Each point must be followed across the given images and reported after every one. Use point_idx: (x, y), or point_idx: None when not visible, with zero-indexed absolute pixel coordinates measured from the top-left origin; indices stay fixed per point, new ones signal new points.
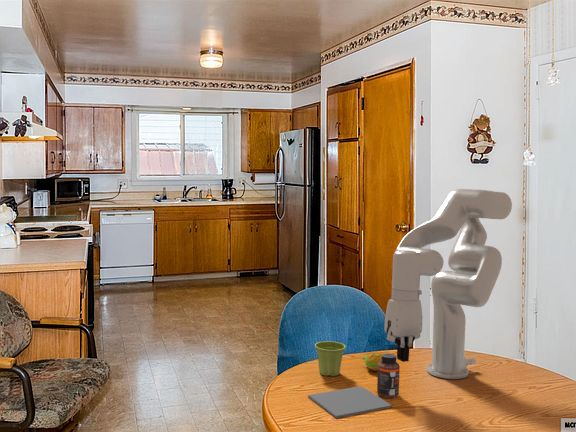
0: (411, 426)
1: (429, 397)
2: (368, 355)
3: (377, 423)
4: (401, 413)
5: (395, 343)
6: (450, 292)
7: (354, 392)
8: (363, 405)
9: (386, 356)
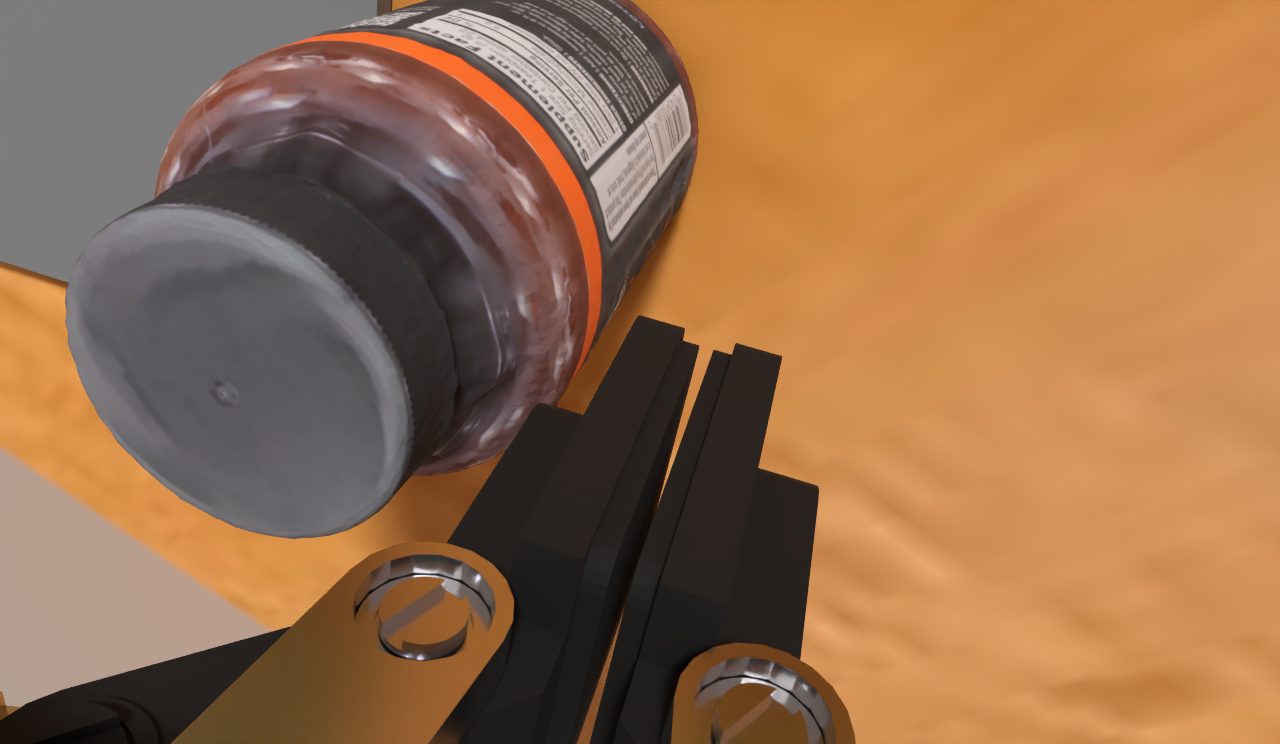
0: None
1: (925, 479)
2: None
3: (94, 458)
4: None
5: (269, 646)
6: None
7: None
8: (100, 195)
9: (119, 407)
